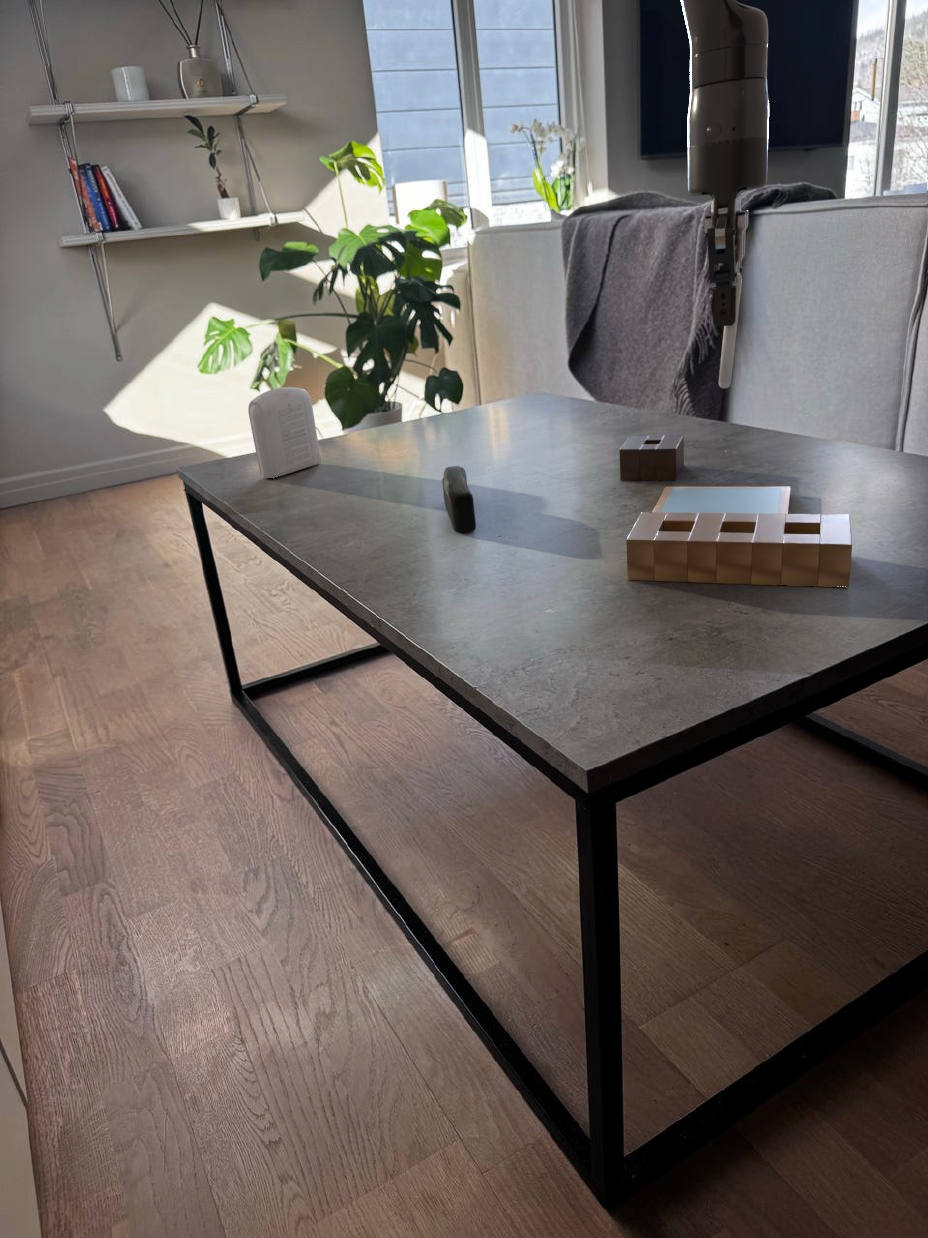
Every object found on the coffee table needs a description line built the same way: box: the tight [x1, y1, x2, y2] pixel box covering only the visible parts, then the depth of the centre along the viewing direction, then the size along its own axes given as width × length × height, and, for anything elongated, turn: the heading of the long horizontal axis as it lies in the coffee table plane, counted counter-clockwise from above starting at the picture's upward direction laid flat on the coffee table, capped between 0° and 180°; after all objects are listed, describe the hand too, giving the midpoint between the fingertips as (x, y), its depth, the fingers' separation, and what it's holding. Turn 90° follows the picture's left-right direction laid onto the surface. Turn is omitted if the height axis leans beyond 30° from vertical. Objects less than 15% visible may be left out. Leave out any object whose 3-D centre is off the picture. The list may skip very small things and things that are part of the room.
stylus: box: [718, 273, 743, 390], centre depth 93 cm, size 1×1×12 cm
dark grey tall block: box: [441, 465, 477, 533], centre depth 105 cm, size 5×3×15 cm
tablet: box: [652, 486, 792, 514], centre depth 95 cm, size 14×18×1 cm
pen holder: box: [625, 511, 853, 588], centre depth 82 cm, size 19×8×4 cm, turn 70°
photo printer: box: [247, 386, 322, 479], centre depth 133 cm, size 10×4×12 cm, turn 140°
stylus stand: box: [618, 434, 685, 481], centre depth 113 cm, size 7×7×4 cm
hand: (725, 323), depth 93 cm, fingers closed on stylus, 1 cm apart
